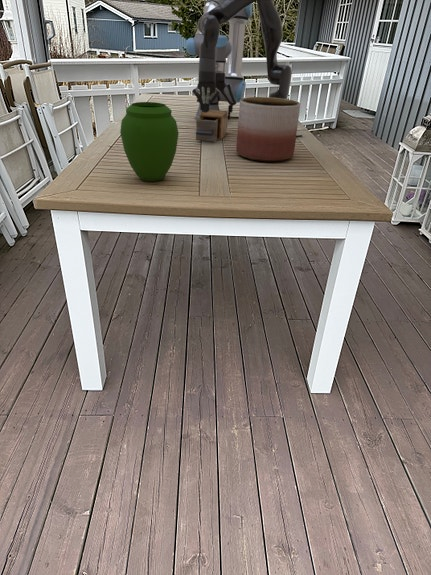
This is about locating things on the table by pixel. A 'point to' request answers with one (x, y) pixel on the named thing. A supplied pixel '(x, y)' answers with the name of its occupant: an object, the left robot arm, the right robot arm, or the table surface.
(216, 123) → the drawer
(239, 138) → the planter
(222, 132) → the tan rectangular mottled block
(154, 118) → the vase
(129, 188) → the table surface
